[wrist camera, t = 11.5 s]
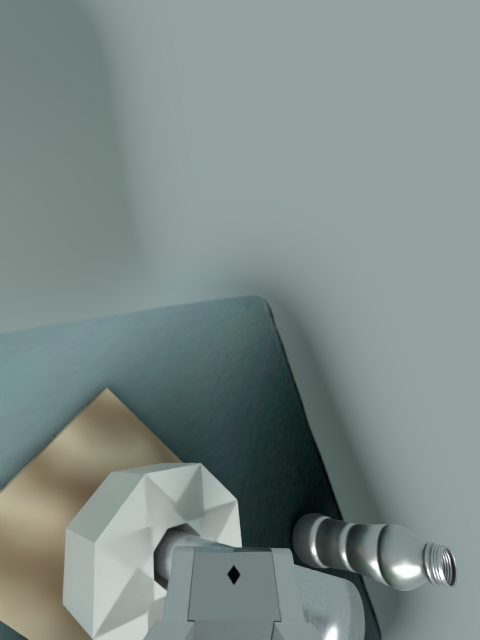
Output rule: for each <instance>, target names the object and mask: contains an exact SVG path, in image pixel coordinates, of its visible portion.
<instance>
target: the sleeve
mask: <svg viewBox="0 0 480 640" xmlns="http://www.w3.org/2000/svg"><path fill="white" fill-rule="evenodd" d="M168 528H170V529H174V530H177V531H181V532H184V533H188V534H191V535H194V536H198V537H201V538H205V539H208V540H212V541H215V542H218V543H222V544H225V545H229V546H232V547H242V542H241V532H240V522H239V512H238V502H237V499H236V498H235V497H234V496H233V495H232V494H231V493H230V492H229V491H228V490H227V489H226V488H225V487H224V486H223V485H222V484H221V483H220V482H219V481H218V480H217V479H216V478H215V477H214V476H213V475H212V474H211V473H210V472H209V471H208V470H207V469H206V468H205V467H204V466H203V465H202V464H201V463H159V464H153V465H148V466H142V467H136V468H131V469H125V470H119V471H114V472H111V473H110V474H109V475H108V476H107V478H106V479H105V480H104V481H103V483H102V484H101V485H100V486H99V487H98V489H97V490H96V491H95V492H94V494H93V495H92V496H91V497H90V499H89V500H88V501H87V502H86V504H85V505H84V506H83V507H82V509H81V510H80V511H79V512H78V514H77V515H76V516H75V517H74V518H73V520H72V521H71V522H70V523H69V525H68V526H67V527H66V537H65V560H64V582H63V603H62V604H63V605H64V606H65V607H66V609H67V610H68V611H69V612H70V613H71V614H72V616H73V617H74V618H75V619H76V620H77V622H78V623H79V624H80V625H81V626H82V627H83V629H84V630H85V631H86V632H87V633H88V634H89V636H90V637H91V638H92V639H93V640H143V639H144V637H145V636H146V634H147V633H148V632H149V630H150V629H151V627H152V626H153V625H154V623H155V622H156V621H162V619H163V613H164V607H165V601H166V594H167V588H168V582H169V580H167V579H165V578H163V577H161V576H159V575H157V574H155V573H154V562H153V552H154V550H155V549H156V547H157V545H158V544H159V542H160V540H161V539H162V537H163V535H164V534H165V532H166V530H167V529H168Z"/></svg>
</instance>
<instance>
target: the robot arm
mask: <svg viewBox="0 0 480 640" xmlns="http://www.w3.org/2000/svg"><path fill="white" fill-rule="evenodd" d="M143 640H324V639H323V638H322V636H321V635H320V634H319V632H318V631H317V629H316V628H315V627H314V625H313V624H312V623H308V622H305V618H304V613H303V608H302V602H301V597H300V592H299V587H298V582H297V577H296V572H295V567H294V562H293V556H292V552H291V551H290V549H289V548H269V547H233V548H219V547H199V546H175V548H174V552H173V557H172V563H171V569H170V576H169V582H168V588H167V594H166V601H165V607H164V613H163V619H162V621H156V622H155V623H154V625H153V626H152V627H151V629H150V630H149V632H148V633H147V634H146V636H145V637H144V639H143Z"/></svg>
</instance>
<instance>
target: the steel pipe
mask: <svg viewBox="0 0 480 640" xmlns="http://www.w3.org/2000/svg"><path fill="white" fill-rule="evenodd" d="M175 546H199V547H219V548H233V547H232V546H229V545H225V544H222V543H218V542H215V541H212V540H208V539H205V538H201V537H198V536H194V535H191V534H188V533H184V532H181V531H177V530H174V529H170V528H168V529H167V530H166V532H165V534H164V535H163V537H162V539H161V540H160V542H159V544H158V545H157V547H156V549H155V550H154V552H153V562H154V573H155V574H157V575H159V576H161V577H163V578H165V579H167V580H169V576H170V569H171V563H172V557H173V552H174V548H175ZM294 567H295V572H296V577H297V582H298V587H299V592H300V597H301V602H302V608H303V613H304V618H305V622H308V623H312V624H313V625H314V627H315V628H316V629H317V631H318V632H319V634H320V635H321V636H322V638H323V639H324V640H364V633H365V617H364V609H363V604H362V600H361V597H360V594H359V592H358V590H357V588H356V587H355V585H354V584H353V583H352V582H350V581H349V580H346V579H342V578H339V577H335V576H332V575H328V574H325V573H321V572H318V571H315V570H311V569H308V568H304V567H301V566H297V565H294Z"/></svg>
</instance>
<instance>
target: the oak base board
mask: <svg viewBox="0 0 480 640" xmlns="http://www.w3.org/2000/svg"><path fill="white" fill-rule="evenodd" d="M159 463H183V462H182V461H181V460H180V459H179V458H178V457H177V456H176V455H175V454H174V453H173V452H172V451H171V450H170V449H169V448H168V447H167V446H166V445H165V444H164V443H163V442H162V441H161V440H160V439H159V438H158V437H157V436H156V435H155V434H154V433H152V432H151V431H150V430H149V429H148V428H147V427H146V426H145V425H144V424H143V423H142V422H141V421H140V420H139V419H138V418H137V417H136V416H135V415H134V414H133V413H132V412H131V411H130V410H129V409H128V408H127V407H126V406H125V405H124V404H123V403H122V402H121V401H120V400H119V399H118V398H117V397H116V396H115V395H114V394H113V393H112V392H111V391H110V390H109V389H108V388H106V389H104V390H102V391H101V392H100V393H99V394H98V395H97V396H96V397H95V398H94V399H93V400H92V401H91V402H90V403H89V404H88V405H87V406H86V407H85V408H84V409H83V410H82V411H81V412H80V413H79V414H78V415H77V416H76V417H75V418H74V419H73V420H72V421H71V422H70V423H68V424H67V425H66V426H65V427H64V428H63V429H62V430H61V431H60V432H59V433H58V434H57V435H56V436H55V437H54V438H53V439H52V440H51V441H50V442H49V443H48V444H47V445H46V446H45V447H44V448H43V449H42V450H41V451H40V452H39V453H38V454H37V455H36V456H35V457H34V458H33V459H32V460H31V461H30V462H29V463H28V464H27V465H26V466H25V467H24V468H23V469H22V470H21V471H20V472H19V473H18V474H17V475H16V476H15V477H14V478H13V479H12V480H11V481H10V482H9V483H8V484H7V485H6V486H4V487H3V488H2V489H1V490H0V621H2V622H3V623H5V624H6V625H8V626H9V627H11V628H12V629H14V630H15V631H17V632H18V633H20V634H21V635H22V636H24V637H25V638H27V639H28V640H93V639H92V638H91V637H90V636H89V634H88V633H87V632H86V631H85V630H84V629H83V627H82V626H81V625H80V624H79V623H78V622H77V620H76V619H75V618H74V617H73V616H72V614H71V613H70V612H69V611H68V610H67V609H66V607H65V606H64V605H63V604H62V603H63V582H64V560H65V537H66V527H67V526H68V525H69V523H70V522H71V521H72V520H73V518H74V517H75V516H76V515H77V514H78V512H79V511H80V510H81V509H82V507H83V506H84V505H85V504H86V502H87V501H88V500H89V499H90V497H91V496H92V495H93V494H94V492H95V491H96V490H97V489H98V487H99V486H100V485H101V484H102V483H103V481H104V480H105V479H106V478H107V476H108V475H109V474H110V473H111V472H114V471H119V470H125V469H131V468H136V467H142V466H148V465H153V464H159Z"/></svg>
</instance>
